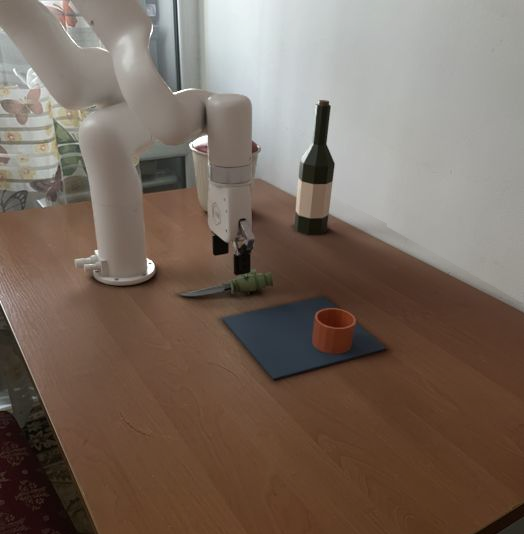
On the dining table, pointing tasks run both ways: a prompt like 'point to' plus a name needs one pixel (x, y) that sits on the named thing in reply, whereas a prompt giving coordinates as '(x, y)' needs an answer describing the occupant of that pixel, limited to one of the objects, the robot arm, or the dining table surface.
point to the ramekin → (333, 330)
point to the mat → (293, 338)
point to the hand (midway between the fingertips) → (231, 263)
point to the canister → (201, 168)
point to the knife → (238, 284)
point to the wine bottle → (315, 177)
